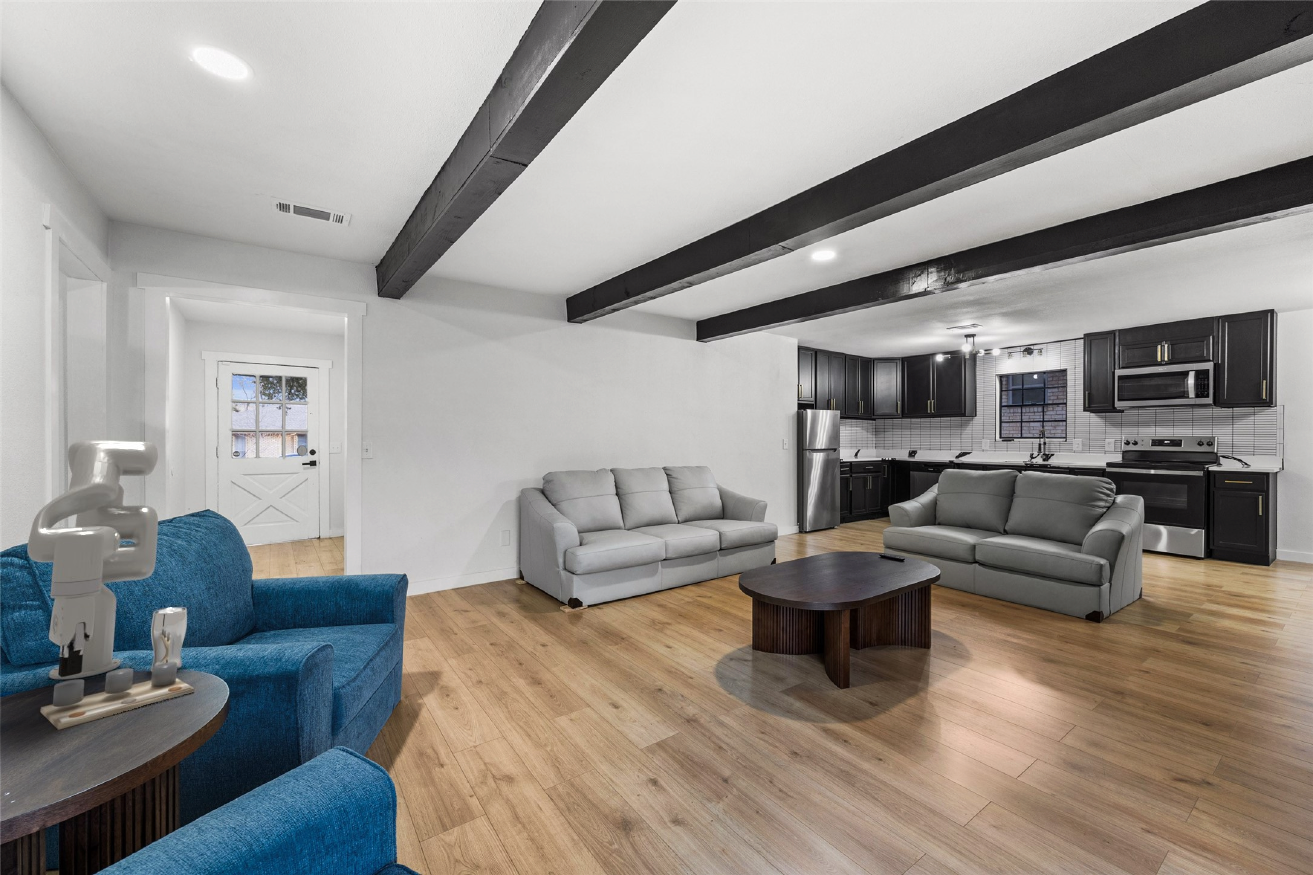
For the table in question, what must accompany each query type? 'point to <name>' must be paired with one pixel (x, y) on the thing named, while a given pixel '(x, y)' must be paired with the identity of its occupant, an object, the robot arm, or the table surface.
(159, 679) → the button
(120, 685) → the button middle
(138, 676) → the table surface
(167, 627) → the beer glass
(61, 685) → the button
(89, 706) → the button board
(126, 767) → the table surface
